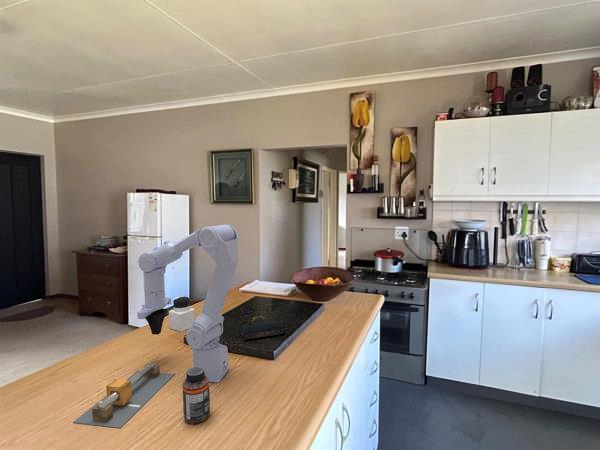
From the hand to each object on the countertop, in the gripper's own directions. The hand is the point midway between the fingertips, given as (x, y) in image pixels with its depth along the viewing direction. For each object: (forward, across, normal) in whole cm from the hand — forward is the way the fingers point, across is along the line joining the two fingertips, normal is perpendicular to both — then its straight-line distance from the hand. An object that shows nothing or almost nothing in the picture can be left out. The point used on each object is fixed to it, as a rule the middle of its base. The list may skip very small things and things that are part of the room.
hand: (156, 333), depth 103 cm
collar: (+9, +21, +3) cm, 23 cm away
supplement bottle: (+10, +22, +24) cm, 34 cm away
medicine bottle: (+10, -28, -7) cm, 30 cm away
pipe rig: (+9, +17, +3) cm, 20 cm away
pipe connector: (+10, -27, +26) cm, 39 cm away
